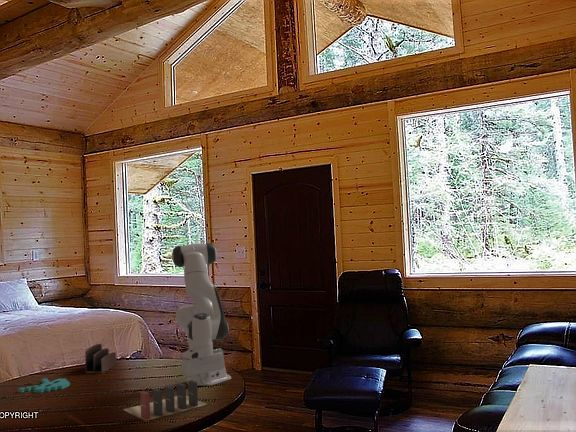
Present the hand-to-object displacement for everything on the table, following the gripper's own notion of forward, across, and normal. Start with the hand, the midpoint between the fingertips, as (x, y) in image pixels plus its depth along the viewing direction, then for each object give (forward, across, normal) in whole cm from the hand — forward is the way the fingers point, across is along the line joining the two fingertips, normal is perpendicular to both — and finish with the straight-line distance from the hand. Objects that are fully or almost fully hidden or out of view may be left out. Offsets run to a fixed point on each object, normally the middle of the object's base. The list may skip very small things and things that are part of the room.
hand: (204, 383), depth 240 cm
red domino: (+8, +28, 0) cm, 29 cm away
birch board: (+9, +15, -7) cm, 19 cm away
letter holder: (+10, +5, -107) cm, 108 cm away
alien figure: (+10, +40, -89) cm, 98 cm away
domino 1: (+8, +22, 0) cm, 24 cm away
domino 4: (+8, +6, 0) cm, 10 cm away
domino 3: (+8, +11, 0) cm, 14 cm away
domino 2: (+8, +17, 0) cm, 19 cm away
